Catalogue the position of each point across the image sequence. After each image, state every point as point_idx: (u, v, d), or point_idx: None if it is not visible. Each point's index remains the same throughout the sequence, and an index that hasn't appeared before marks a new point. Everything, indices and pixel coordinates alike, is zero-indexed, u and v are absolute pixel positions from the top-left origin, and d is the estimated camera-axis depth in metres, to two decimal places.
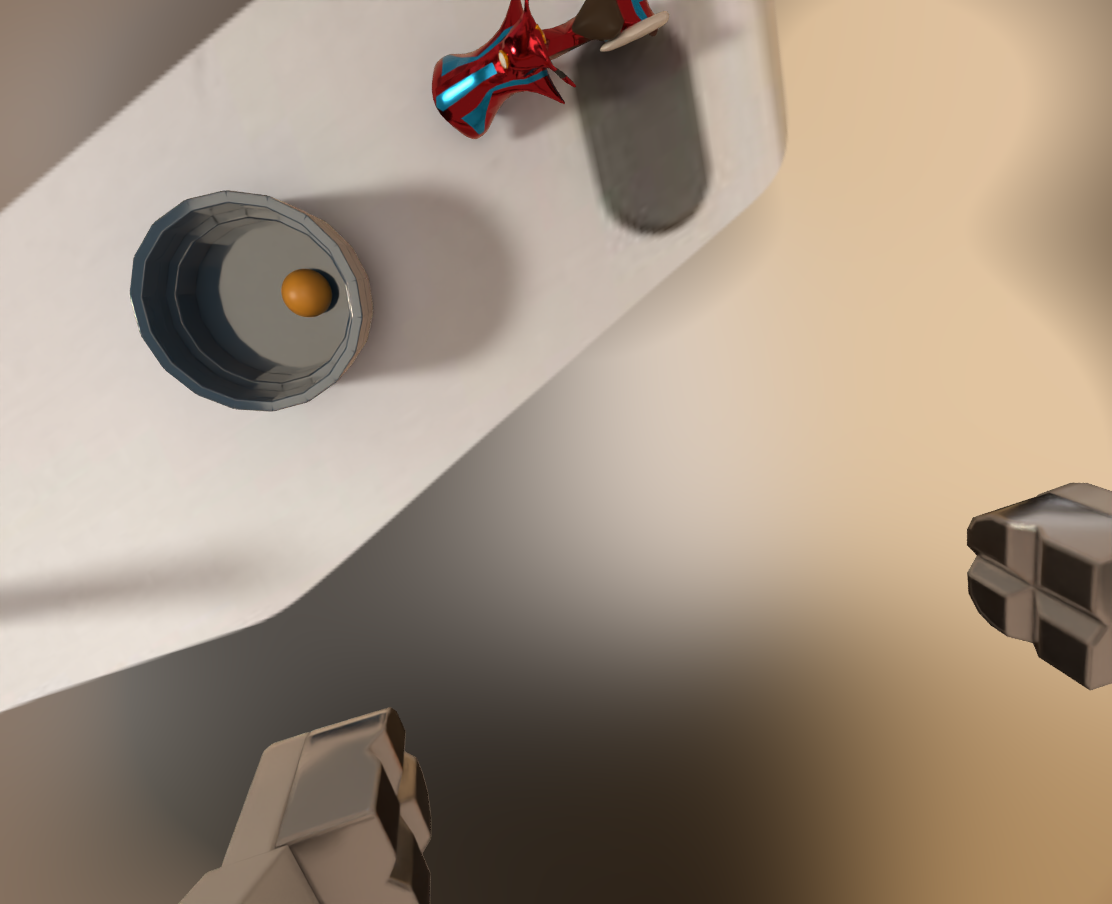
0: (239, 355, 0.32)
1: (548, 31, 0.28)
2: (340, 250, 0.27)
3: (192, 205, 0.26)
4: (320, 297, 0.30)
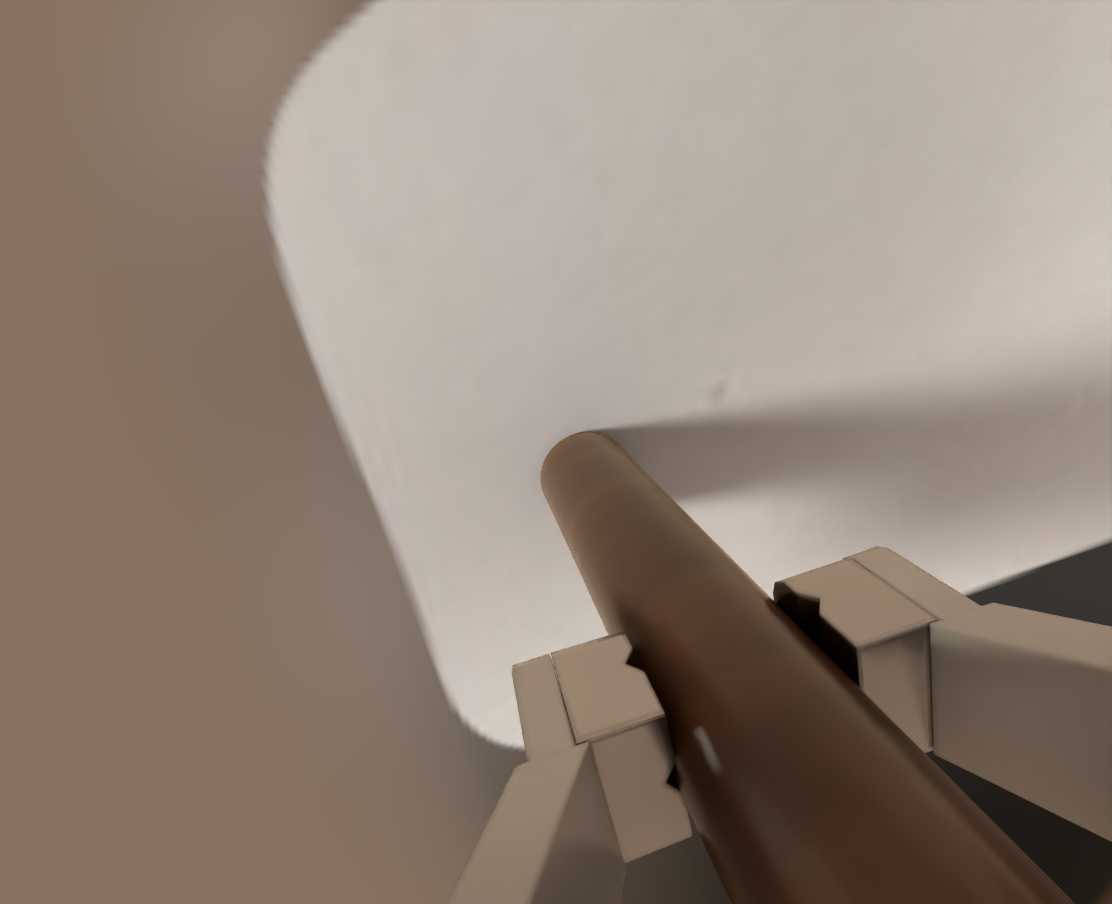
0: None
1: None
2: None
3: None
4: None
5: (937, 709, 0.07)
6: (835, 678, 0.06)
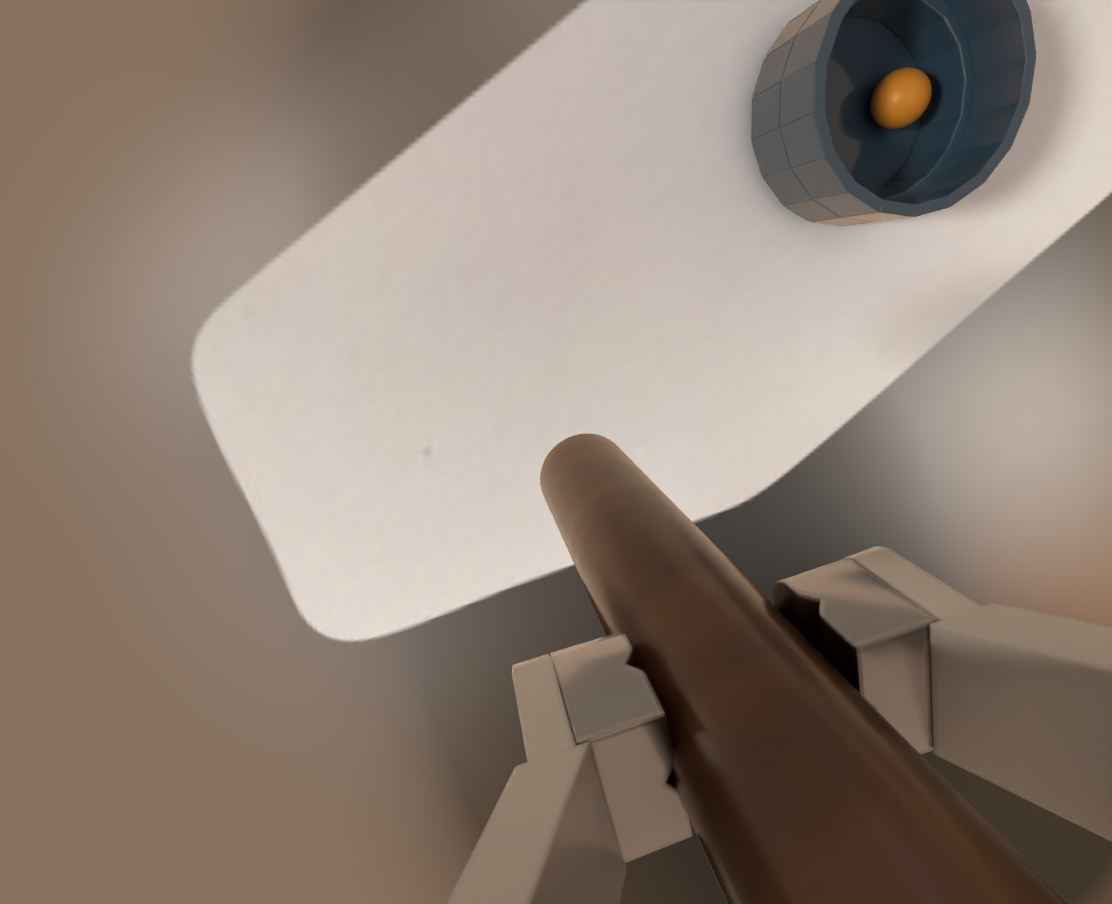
0: None
1: None
2: (1030, 17, 0.23)
3: None
4: (929, 98, 0.26)
5: (937, 709, 0.07)
6: (833, 681, 0.06)
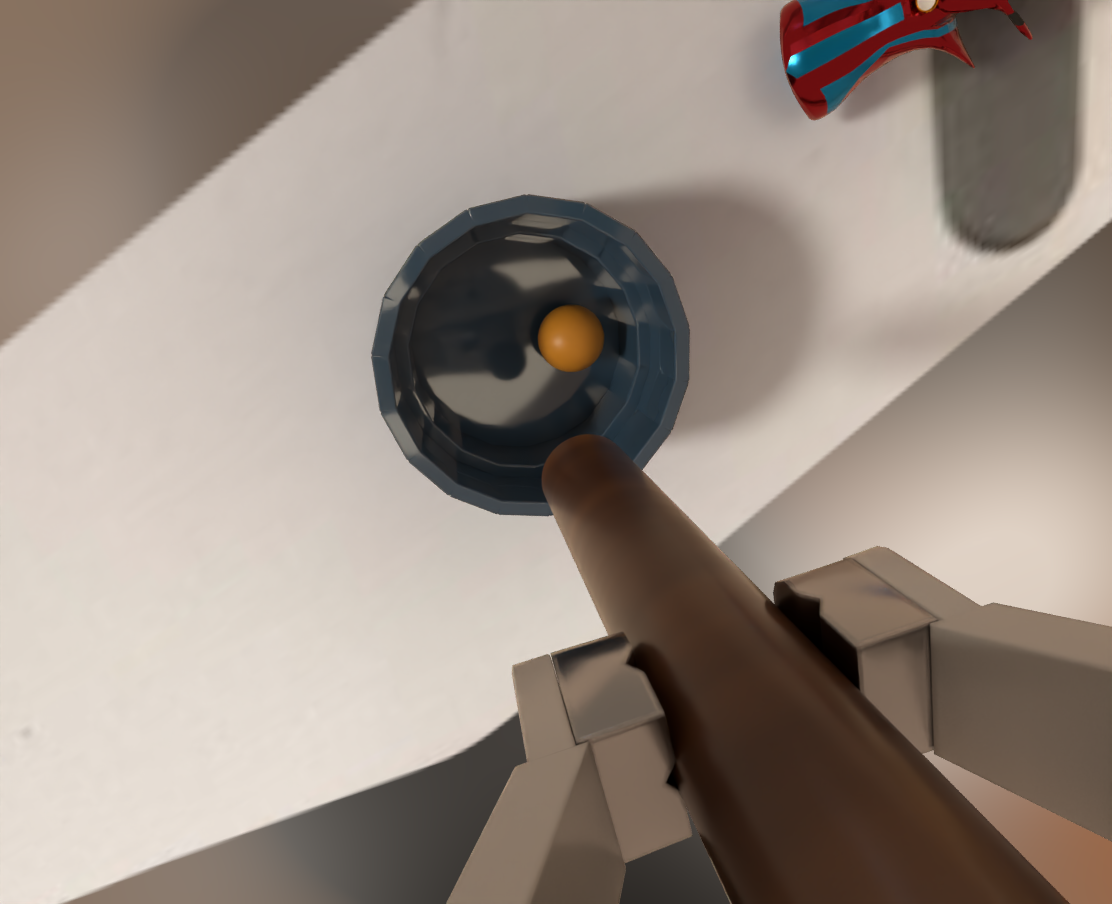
0: (460, 421, 0.23)
1: None
2: (674, 284, 0.18)
3: (477, 217, 0.17)
4: (597, 346, 0.21)
5: (937, 709, 0.07)
6: (837, 683, 0.06)
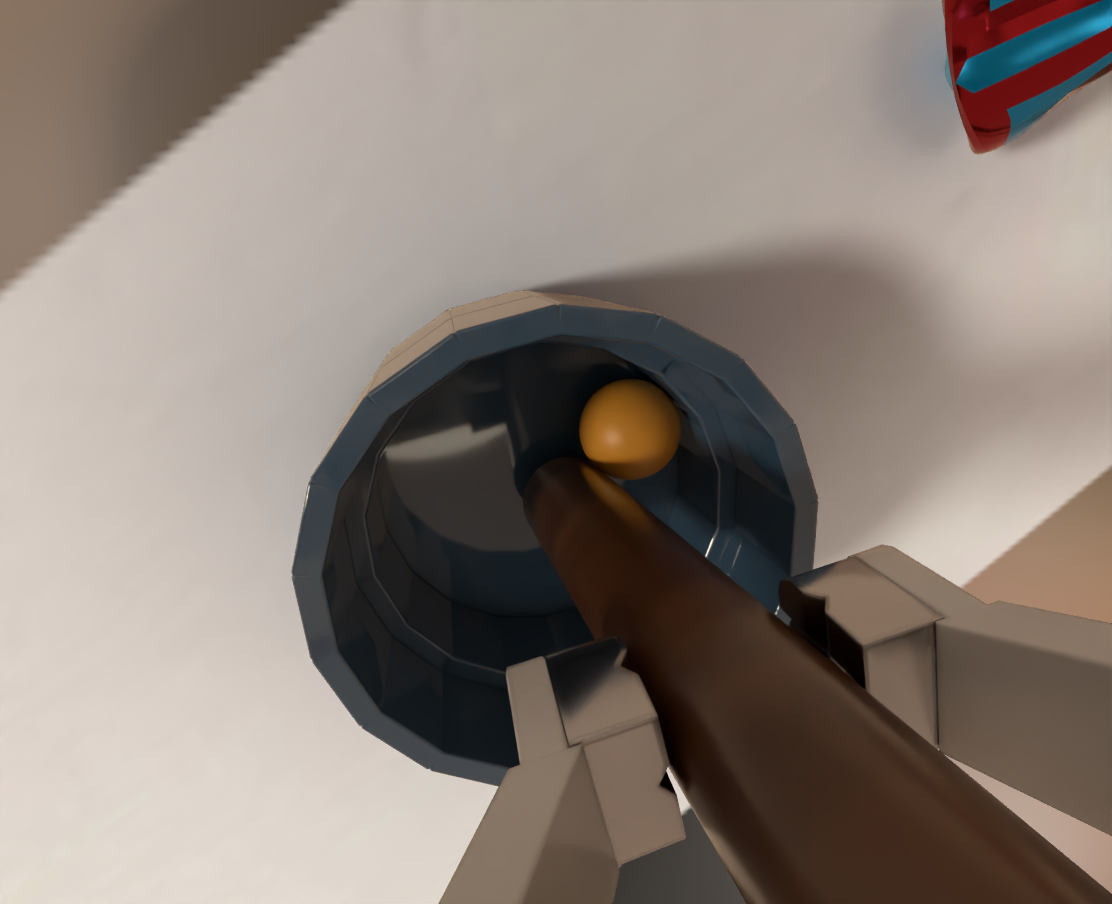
0: (451, 588, 0.16)
1: None
2: (797, 436, 0.11)
3: (471, 346, 0.09)
4: (680, 426, 0.14)
5: (943, 707, 0.07)
6: (838, 674, 0.06)
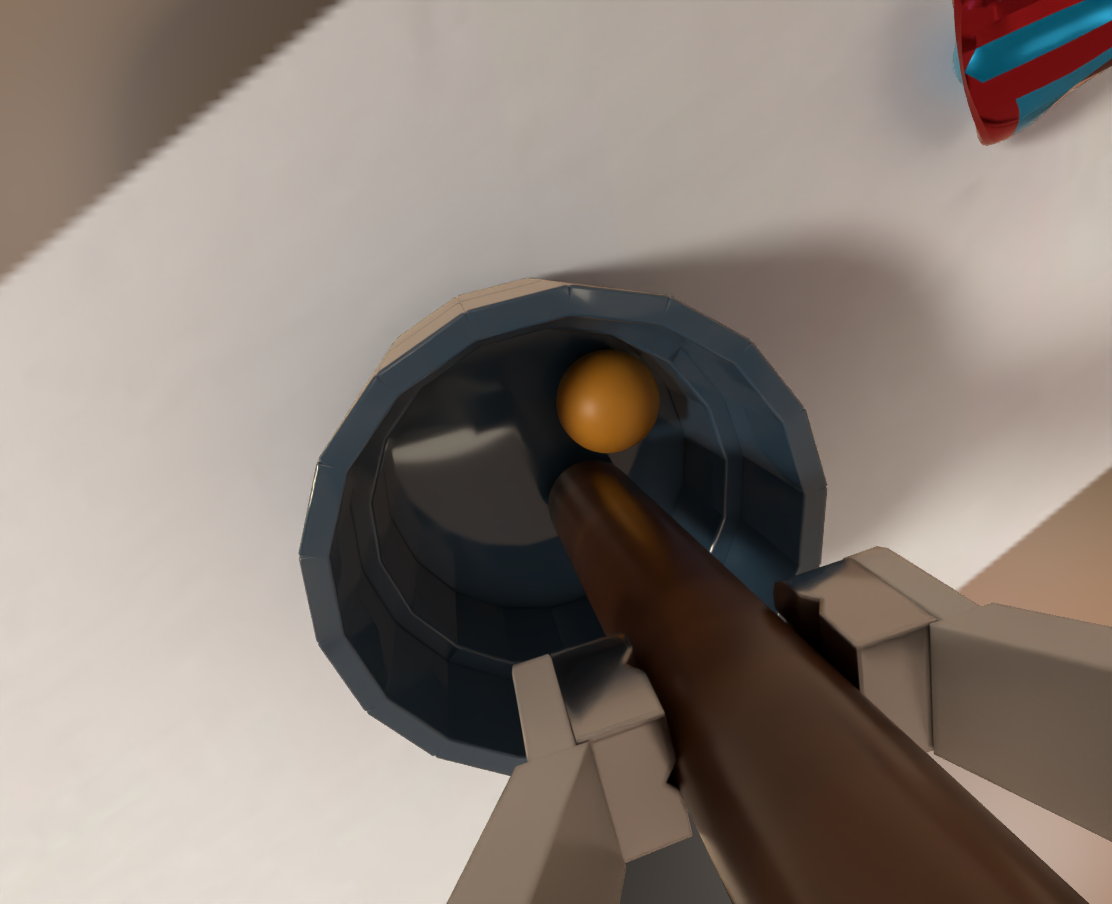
0: (456, 579, 0.16)
1: None
2: (807, 422, 0.11)
3: (482, 326, 0.09)
4: (655, 401, 0.13)
5: (937, 709, 0.07)
6: (837, 676, 0.06)
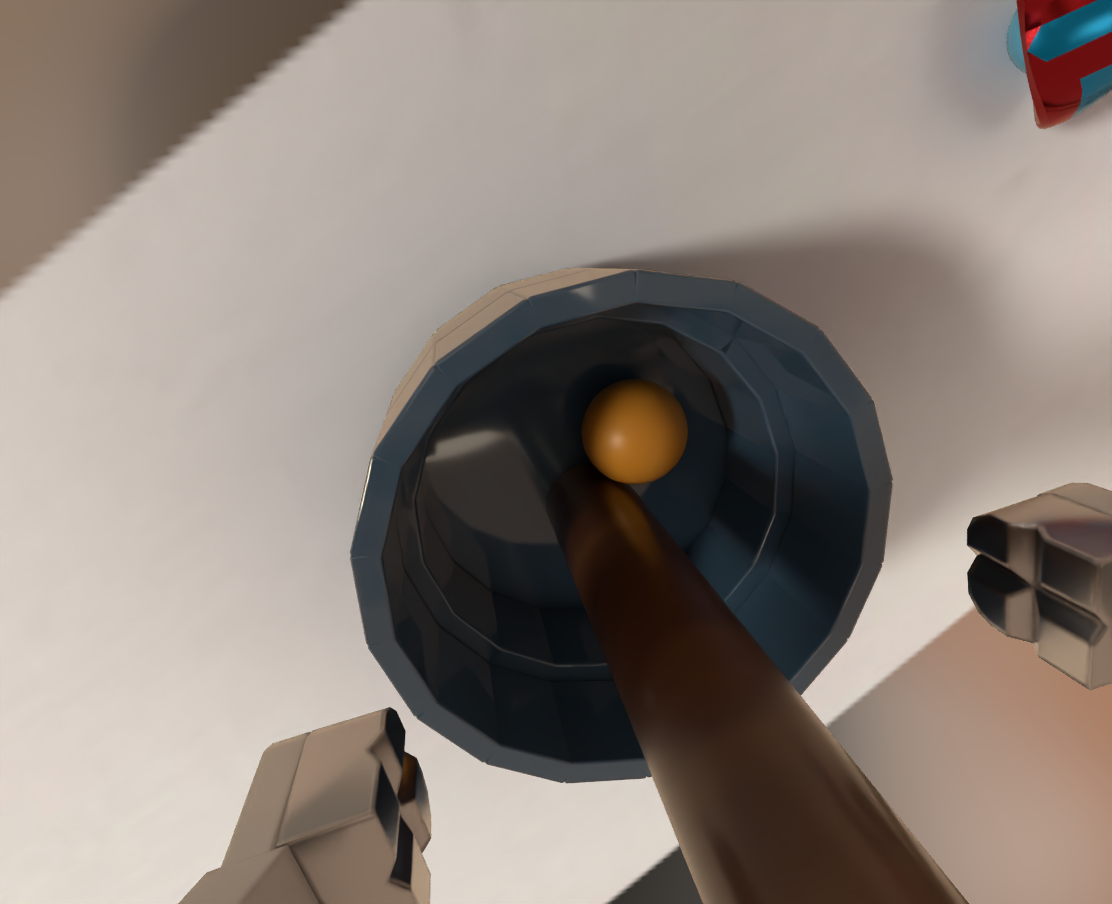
0: (492, 578, 0.15)
1: None
2: (874, 413, 0.10)
3: (544, 313, 0.09)
4: (671, 463, 0.13)
5: None
6: (828, 743, 0.07)
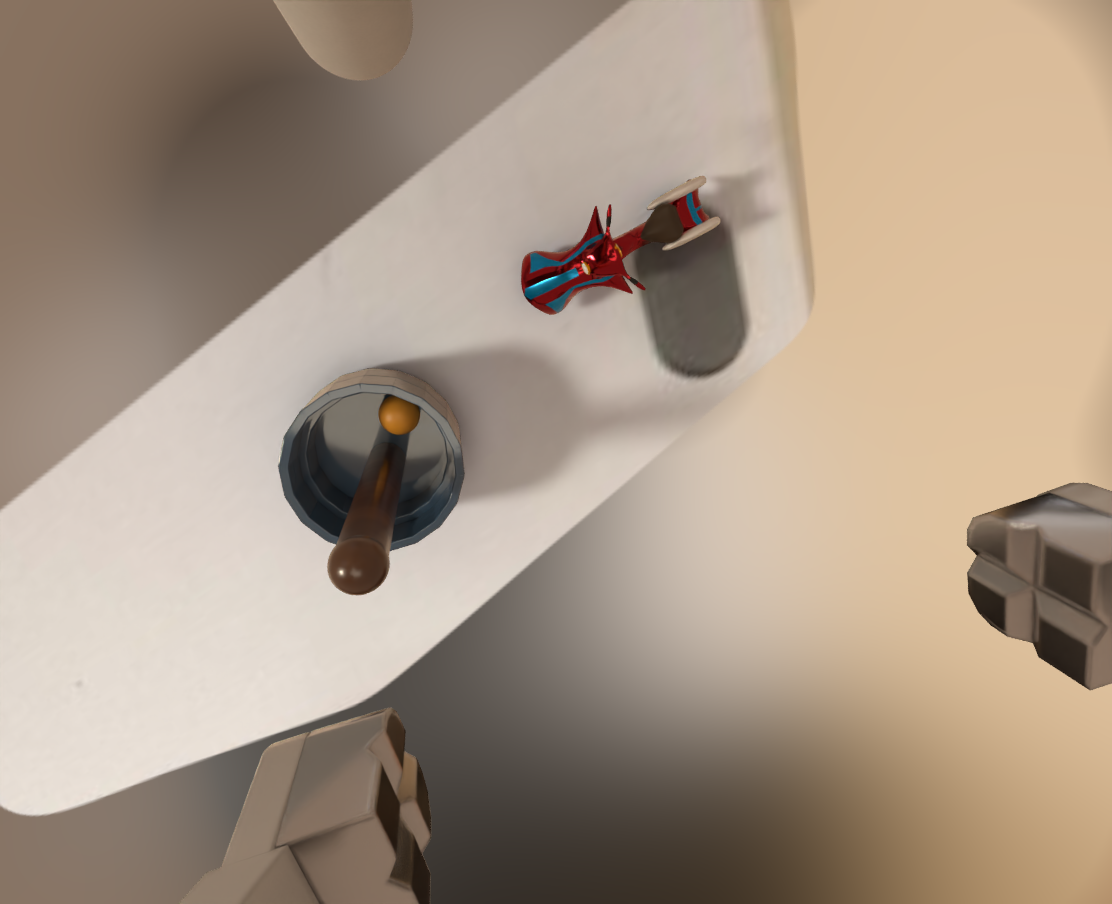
0: (348, 490, 0.38)
1: (621, 240, 0.33)
2: (449, 424, 0.33)
3: (332, 396, 0.31)
4: (412, 413, 0.35)
5: None
6: (380, 498, 0.29)
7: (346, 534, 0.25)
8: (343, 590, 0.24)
